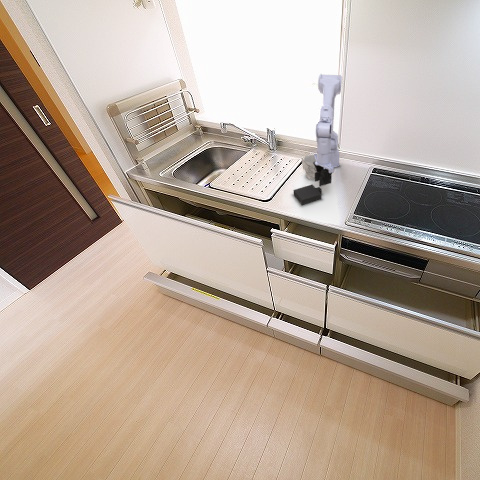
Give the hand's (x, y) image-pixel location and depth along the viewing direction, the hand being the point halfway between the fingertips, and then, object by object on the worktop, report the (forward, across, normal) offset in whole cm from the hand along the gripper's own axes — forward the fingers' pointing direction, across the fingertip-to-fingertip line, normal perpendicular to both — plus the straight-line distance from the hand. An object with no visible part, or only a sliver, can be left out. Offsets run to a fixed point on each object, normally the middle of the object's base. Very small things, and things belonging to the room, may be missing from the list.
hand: (323, 179), depth 120 cm
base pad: (+7, 0, -8) cm, 11 cm away
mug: (+8, -16, +2) cm, 18 cm away
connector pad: (+1, 0, 0) cm, 1 cm away
